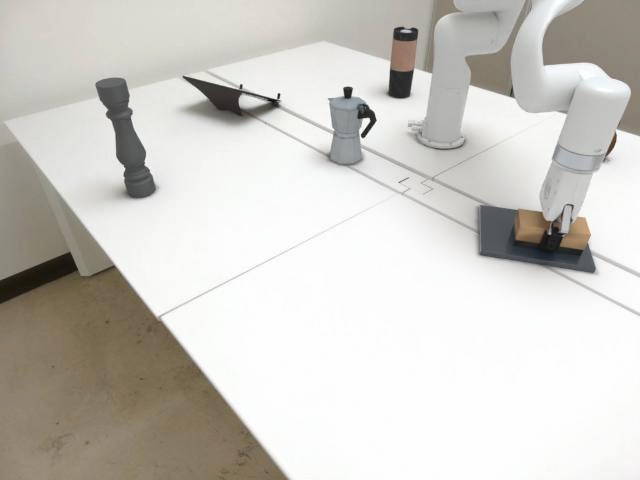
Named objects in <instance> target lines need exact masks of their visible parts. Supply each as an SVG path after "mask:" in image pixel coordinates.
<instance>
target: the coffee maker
mask: <svg viewBox="0 0 640 480" xmlns="http://www.w3.org/2000/svg"><path fill="white" fill-rule="evenodd" d="M353 90H354V88H353V87H352V86H350V85H349V86H348V85H347V86H343V88H342V92H343V95H341V96H337V97H336V96H335V97H328V98H327V100H328V101H329V102H328V105H329V112H330V120H331V128H332V129H333V134H332V139H331V145H330V151H329V159H330V161H331V162H333V163H336V164H338V165H340V166H344V165H347V166H348V165H355V164H357V163H359V162H361V161H362V160H363V155H362V154H363V153H362V145H361V138H362V139H365V138H366V137H367V135H368V134H369V133H370V131H371V130H372V128H373V127H374V126H375V124H376V123H377V116H376V113H375V111H374V110H373V109H371V107H370V106H369V104H367V101H365V100H363V99H362V98H361V97H359V96H353V92H354V91H353ZM364 119H369V122H368V123H367V125H366V127H365V128H364V129H363V131H362V132H361V133H360V129H361V128H362V125H363V120H364Z"/></svg>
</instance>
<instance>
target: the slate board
mask: <svg viewBox="0 0 640 480" xmlns="http://www.w3.org/2000/svg"><path fill="white" fill-rule="evenodd" d="M517 211H518V209H516V208H508V207H500V206H492V205H485V204H480V205H479V208H478V212H479V213H478V214H479V217H478V220H479V225H478V226H479V255H480V256H485V257H486V256H487V257H493V258H499V259H500V258H501V259H506V260H512V261H519V262H525V263H532V264H537V265H544V266H549V267H550V266H551V267H557V268H563V269H568V270H569V269H570V270H574V271H575V270H577V271H581V272H582V271H584V272H587V273H595V271H596V269H597V267H596V264H595V261H594V257H593V255H592V251H591V248H590V245H589V242H588V243H587V245H586V247H585V249H584V250H583V252H582V255H575V254H568V253H561V252H552V251H546V250H540V249H535V248H528V247H521V246H515V245H513V236H512V227H513V224H514V220H515V217H516V214H517Z"/></svg>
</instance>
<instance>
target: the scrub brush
mask: <svg viewBox="0 0 640 480" xmlns="http://www.w3.org/2000/svg"><path fill="white" fill-rule="evenodd" d="M517 210H518V211H517V214H516V217H515V220H514V224H513V227H512V236H513V245H515V246H521V247H528V248H535V249H539V245H540V243H541V240H542V237H543V235H544V232H545V231H547V230H548V226H549V222H550V221H547V220H546V219H545V218H544V216H543V212H542V211H539V210H532V209H525V208H518V209H517ZM557 218H561V216H558V217H557ZM559 225H560V223H558V222H554V226H553V228H554V227H558V226H559ZM591 236H592V233H591V231H590V227H589V225H588V221H587V219H586V217H585V216H584V217H583V216H579V215H578V216H577V218H576V220H575V222H574V223H572V224H570V225H569V232H568V233H567V234H565V236H564V237H563V239H562V242H561V244H560V246H559V249H558V251H557V252H561V253H568V254H575V255H582V252H583V250H584V249H585V247H586V245H587V243H588V244H589V240H590V238H591Z"/></svg>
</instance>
